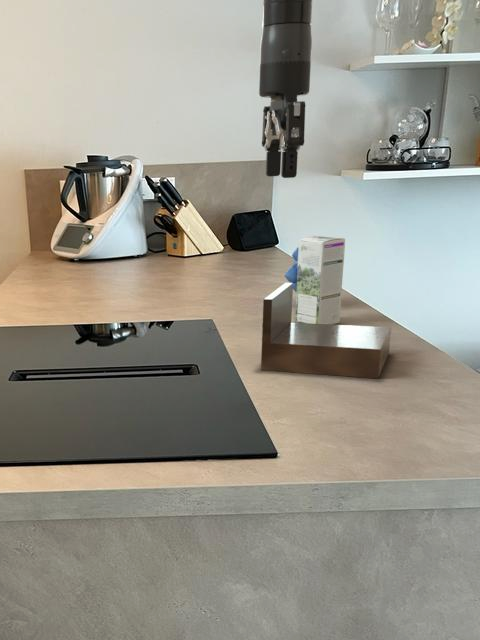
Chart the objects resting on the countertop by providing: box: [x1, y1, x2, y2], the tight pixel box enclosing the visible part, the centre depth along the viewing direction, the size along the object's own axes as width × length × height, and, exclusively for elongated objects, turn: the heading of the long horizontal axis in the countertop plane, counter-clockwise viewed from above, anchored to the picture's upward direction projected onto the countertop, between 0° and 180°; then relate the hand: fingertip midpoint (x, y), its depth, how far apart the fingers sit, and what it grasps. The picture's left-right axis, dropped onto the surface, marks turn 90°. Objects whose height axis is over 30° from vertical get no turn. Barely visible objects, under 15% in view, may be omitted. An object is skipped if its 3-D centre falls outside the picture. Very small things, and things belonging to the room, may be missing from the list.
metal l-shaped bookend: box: [260, 282, 392, 379], centre depth 112 cm, size 16×14×10 cm
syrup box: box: [294, 235, 346, 325], centre depth 136 cm, size 6×6×14 cm
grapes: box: [284, 246, 299, 293], centre depth 151 cm, size 12×7×12 cm, turn 9°
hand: (280, 176), depth 124 cm, fingers open, 8 cm apart
